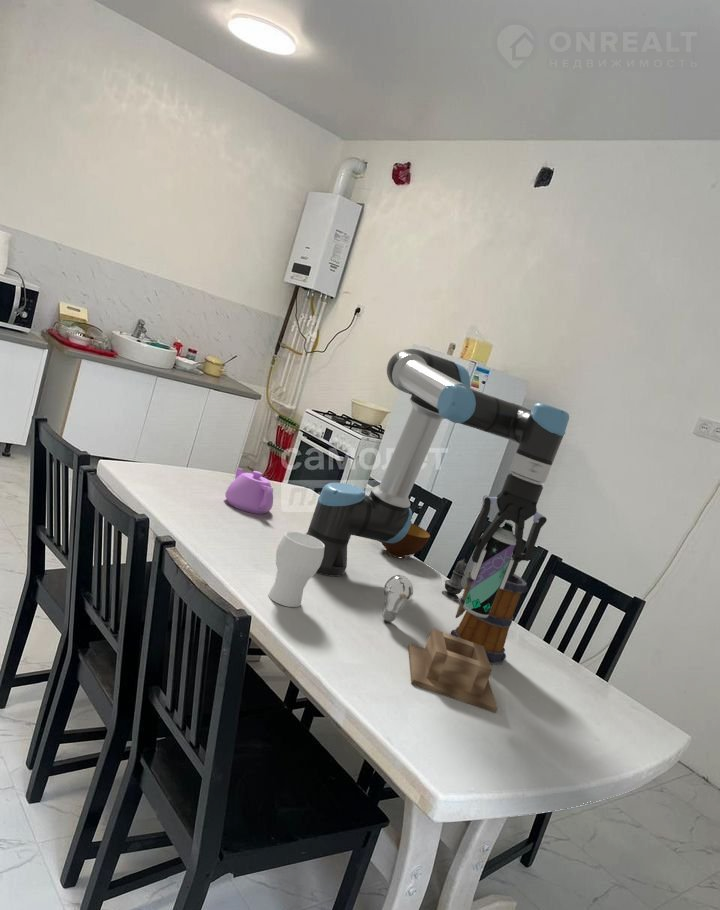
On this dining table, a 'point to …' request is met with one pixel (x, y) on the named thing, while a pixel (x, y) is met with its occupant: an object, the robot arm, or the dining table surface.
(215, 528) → the dining table surface
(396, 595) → the light bulb
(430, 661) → the socket block
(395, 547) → the bowl
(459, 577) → the dark grey chess piece
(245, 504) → the teapot
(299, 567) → the cup
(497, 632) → the mug
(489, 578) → the spray can
